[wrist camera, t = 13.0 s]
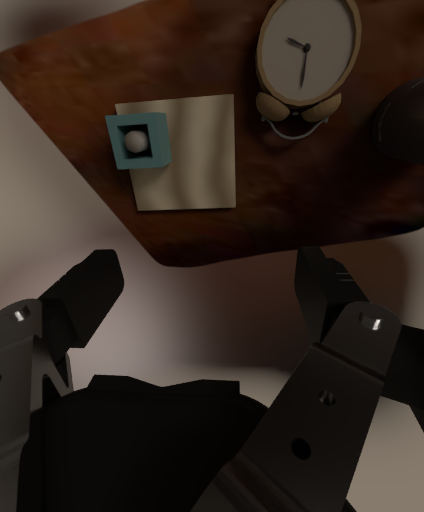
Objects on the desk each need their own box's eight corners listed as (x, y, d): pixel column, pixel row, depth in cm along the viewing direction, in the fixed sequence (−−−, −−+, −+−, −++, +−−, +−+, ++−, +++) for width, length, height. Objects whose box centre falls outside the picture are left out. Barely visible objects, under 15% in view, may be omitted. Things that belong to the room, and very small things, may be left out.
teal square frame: (165, 113, 33) (154, 112, 28) (172, 161, 35) (162, 167, 31) (122, 116, 33) (105, 115, 29) (132, 163, 36) (117, 169, 32)
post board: (233, 95, 33) (232, 87, 26) (235, 204, 40) (235, 223, 33) (119, 104, 35) (87, 100, 27) (141, 207, 42) (120, 226, 35)
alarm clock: (376, -27, 25) (344, 138, 30) (353, 4, 29) (329, 142, 34) (262, -25, 25) (250, 135, 30) (258, 5, 30) (248, 140, 35)
